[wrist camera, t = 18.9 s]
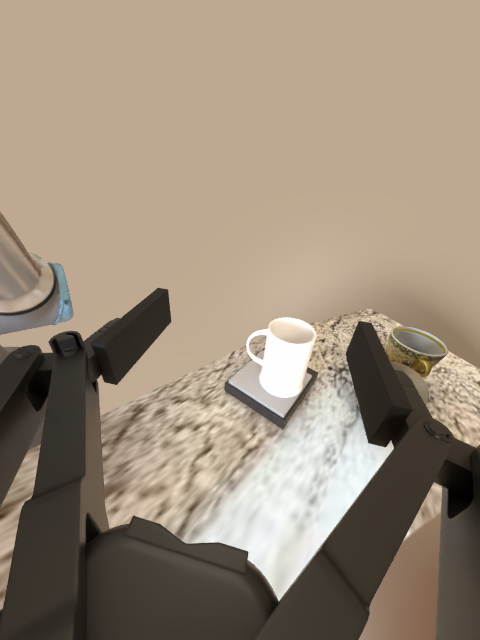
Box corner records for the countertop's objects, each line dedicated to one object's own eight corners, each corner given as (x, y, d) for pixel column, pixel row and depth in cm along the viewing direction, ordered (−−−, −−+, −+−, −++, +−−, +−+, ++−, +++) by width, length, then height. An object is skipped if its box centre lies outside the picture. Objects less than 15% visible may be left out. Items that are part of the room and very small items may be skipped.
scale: (224, 390, 47) (225, 379, 45) (264, 352, 57) (266, 343, 56) (282, 429, 40) (285, 419, 39) (316, 379, 51) (319, 369, 49)
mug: (236, 381, 45) (241, 330, 39) (252, 355, 52) (258, 307, 45) (298, 405, 41) (314, 352, 35) (306, 373, 48) (321, 324, 42)
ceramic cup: (370, 355, 59) (387, 322, 54) (415, 366, 57) (436, 332, 51) (380, 395, 48) (402, 358, 43) (436, 409, 46) (466, 372, 41)
